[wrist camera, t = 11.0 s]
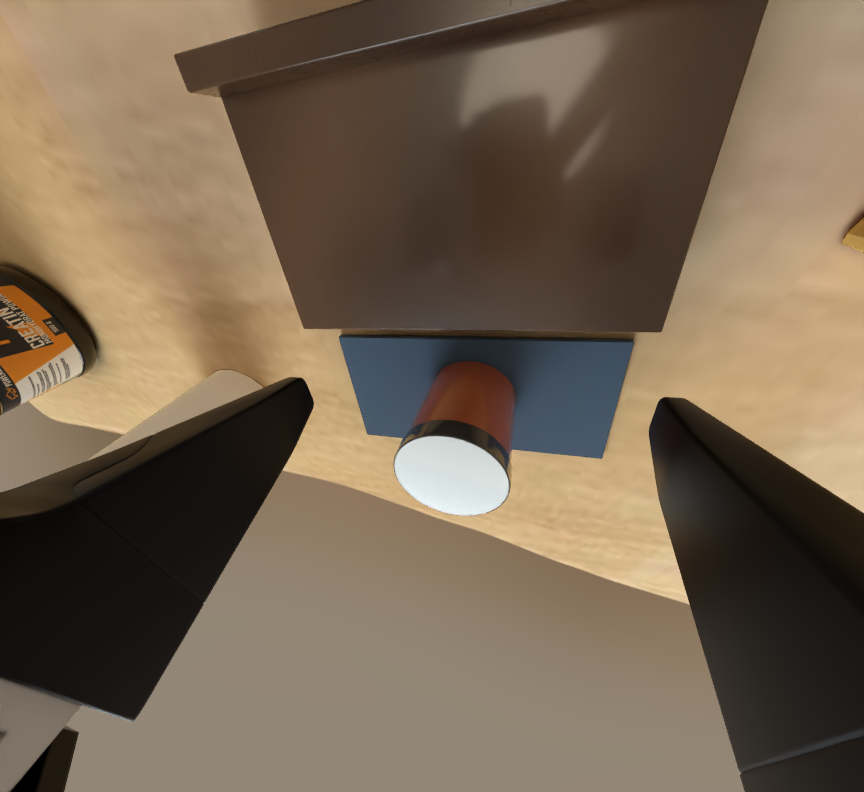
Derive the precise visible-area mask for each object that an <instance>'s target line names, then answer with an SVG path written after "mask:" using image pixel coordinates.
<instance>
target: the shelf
mask: <svg viewBox="0 0 864 792" xmlns="http://www.w3.org/2000/svg"><path fill="white" fill-rule="evenodd" d="M767 3H768V0H363V1H360V2H356V3H353V4H349V5H346V6H342V7H339V8H335V9H332V10H328V11H325V12H321V13H318V14H314V15H311V16H307V17H304V18H300V19H297V20H293V21H290V22H286V23H283V24H279V25H276V26H272V27H269V28H265V29H262V30H258V31H255V32H251V33H248V34H244V35H241V36H237V37H234V38H230V39H227V40H223V41H220V42H216V43H213V44H209V45H206V46H202V47H199V48H195V49H192V50H188V51H185V52H181V53H178V54H175V55H174V57H175V60H176V62H177V65H178V67H179V70H180V72H181V75H182V78H183V80H184V83H185V85H186V88H187V90H188V91H189V92H191V93H196V94H202V95H209V96H215V97H221V98H222V101H223V104H224V106H225V109H226V112H227V115H228V118H229V120H230V123H231V126H232V129H233V132H234V134H235V137H236V140H237V143H238V146H239V148H240V151H241V154H242V157H243V160H244V162H245V165H246V168H247V171H248V173H249V176H250V179H251V182H252V185H253V187H254V190H255V193H256V196H257V199H258V201H259V204H260V207H261V210H262V213H263V215H264V218H265V221H266V224H267V227H268V229H269V232H270V235H271V238H272V241H273V243H274V246H275V249H276V252H277V255H278V257H279V260H280V263H281V266H282V269H283V271H284V274H285V277H286V280H287V283H288V285H289V288H290V291H291V294H292V297H293V299H294V302H295V305H296V308H297V311H298V313H299V316H300V319H301V322H302V324H303V327H304V329H379V330H481V331H583V332H661V331H662V329H663V326H664V323H665V320H666V317H667V314H668V311H669V308H670V304H671V301H672V298H673V295H674V292H675V289H676V286H677V283H678V280H679V276H680V273H681V270H682V267H683V264H684V261H685V258H686V255H687V252H688V249H689V245H690V242H691V239H692V236H693V233H694V230H695V227H696V224H697V221H698V217H699V214H700V211H701V208H702V205H703V202H704V199H705V196H706V193H707V190H708V186H709V183H710V180H711V177H712V174H713V171H714V168H715V165H716V162H717V158H718V155H719V152H720V149H721V146H722V143H723V140H724V137H725V134H726V131H727V127H728V124H729V121H730V118H731V115H732V112H733V109H734V106H735V103H736V99H737V96H738V93H739V90H740V87H741V84H742V81H743V78H744V75H745V72H746V68H747V65H748V62H749V59H750V56H751V53H752V50H753V47H754V44H755V40H756V37H757V34H758V31H759V28H760V25H761V22H762V19H763V16H764V13H765V9H766V6H767Z"/></svg>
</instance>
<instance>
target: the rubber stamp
mask: <svg viewBox="0 0 864 792" xmlns="http://www.w3.org/2000/svg"><path fill="white" fill-rule="evenodd" d="M842 244H844V245H847V246H849V247H851V248H854V249H856V250H859V251H861V252H864V218H863V219H862V220H861V221H860V222H859V223H857V224H856V225H855V226H854V227H853V228H852V229H851V230H850V231H849V232H848V233H847V235H846V237H845V238H844V240H843V242H842Z"/></svg>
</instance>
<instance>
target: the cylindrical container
mask: <svg viewBox="0 0 864 792" xmlns="http://www.w3.org/2000/svg"><path fill="white" fill-rule="evenodd" d="M262 388H263V387H262V386H261V385H260V384H258V383H257V382H256V381H254V380H253V379H251V378H250V377H248V376H246V375H244V374H242V373H239V372H236V371H232V370H219V371H217V372H214V373H213V374H212V375H210V376H209V377H207V378H206V379H204V380H203V381H201V382H200V383H198V384H197V385H196V386H194V387H193V388H191V389H190V390H188V391H187V392H185V393H184V394H183V395H181V396H180V397H178V398H177V399H175V400H174V401H172V402H171V403H170V404H168V405H167V406H165V407H164V408H162V409H161V410H159V411H158V412H157V413H155V414H154V415H152V416H151V417H149V418H148V419H146V420H145V421H143V422H142V423H141V424H139V425H138V426H136V427H135V428H133V429H132V430H130V431H129V432H127V433H126V434H125V435H123V436H122V437H120V438H119V439H117V440H116V441H114V442H113V443H112V444H110V445H109V446H107V447H106V448H104V449H103V450H101V451H100V452H98V453H97V454H96V455H94V456H93V457H91V458H90V459H88V460H91V459H93V458H96V457H98V456H101V455H104V454H106V453H109V452H111V451H114V450H116V449H119V448H121V447H123V446H126V445H128V444H131V443H133V442H136V441H138V440H140V439H143V438H145V437H148V436H150V435H155V433H157V432H160V431H162V430H164V429H167V428H169V427H172V426H174V425H176V424H179V423H181V422H183V421H186V420H188V419H191V418H193V417H195V416H198V415H200V414H202V413H205V412H207V411H210V410H212V409H214V408H217V407H219V406H221V405H224V404H226V403H229V402H231V401H233V400H236V399H238V398H241V397H243V396H245V395H248V394H250V393H252V392H255V391H257V390H260V389H262ZM88 460H87V461H88ZM85 462H86V461H85Z"/></svg>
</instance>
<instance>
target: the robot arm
mask: <svg viewBox="0 0 864 792" xmlns="http://www.w3.org/2000/svg"><path fill="white" fill-rule="evenodd" d="M313 406H314V402H313V398H312V396H311V394H310V391H309V389H308V386H307V384H306V382H305V381H304V379H302V378H296V377H289V378H286V379H283V380H281V381H279V382H276V383H274V384H271V385H269V386H267V387H264V388H262V389H260V390H257V391H255V392H252V393H250V394H248V395H245V396H243V397H241V398H238V399H236V400H233V401H231V402H229V403H226V404H224V405H221V406H219V407H217V408H214V409H212V410H210V411H207V412H205V413H202V414H200V415H198V416H195V417H193V418H191V419H188V420H186V421H183V422H181V423H179V424H176V425H174V426H172V427H169V428H167V429H164V430H162V431H160V432H157V433H155V435H150V436H148V437H145V438H143V439H140V440H138V441H136V442H133V443H131V444H128V445H126V446H123V447H121V448H119V449H116V450H114V451H111V452H109V453H106V454H104V455H101V456H98V457H96V458H93V459H91V460H88V461H86V462H83V463H81V464H78V465H75V466H72V467H70V468H67V469H65V470H62V471H59V472H57V473H54V474H51V475H49V476H46V477H44V478H41V479H38V480H36V481H33V482H30V483H28V484H25V485H23V486H20V487H17V488H14V489H11V490H8V491H4V492H1V493H0V792H64V790H65V785H66V782H67V778H68V773H69V770H70V766H71V762H72V758H73V754H74V749H75V745H76V741H77V737H78V733H79V732H77V731H75V730H73V729H71V728H69V727H67V726H66V724H67V723H68V722H69V720H70V719H71V718H72V717H73V716H74V714H75V713H76V712H77V711H78V709H79V708H80V707H81V706H82V705H83V706H86V707H89V708H92V709H95V710H98V711H101V712H104V713H107V714H110V715H113V716H116V717H119V718H122V719H125V720H128V721H131V722H133V721H134V720H135V719H136V718H137V716H138V715H139V713H140V711H141V710H142V709H143V707H144V705H145V704H146V702H147V700H148V699H149V697H150V695H151V694H152V692H153V690H154V688H155V686H156V685H157V683H158V681H159V680H160V678H161V676H162V675H163V673H164V671H165V669H166V668H167V666H168V665H169V663H170V661H171V659H172V658H173V656H174V654H175V652H176V651H177V649H178V647H179V646H180V644H181V642H182V641H183V639H184V637H185V635H186V634H187V632H188V630H189V629H190V627H191V625H192V623H193V622H194V620H195V618H196V617H197V615H198V613H199V612H200V610H201V608H202V606H203V603H204V602H205V601H206V599H207V597H208V595H209V594H210V592H211V591H212V589H213V587H214V585H215V584H216V582H217V580H218V578H219V577H220V575H221V574H222V572H223V570H224V568H225V567H226V565H227V563H228V562H229V560H230V558H231V556H232V555H233V553H234V551H235V550H236V548H237V546H238V545H239V543H240V541H241V539H242V538H243V536H244V534H245V533H246V531H247V529H248V528H249V526H250V524H251V522H252V521H253V519H254V517H255V516H256V514H257V512H258V510H259V509H260V507H261V505H262V504H263V502H264V500H265V499H266V497H267V495H268V493H269V492H270V490H271V488H272V487H273V485H274V483H275V481H276V480H277V478H278V476H279V474H280V473H281V471H282V470H283V468H284V466H285V464H286V463H287V461H288V459H289V458H290V456H291V454H292V452H293V450H294V448H295V446H296V444H297V442H298V440H299V438H300V436H301V433H302V431H303V429H304V427H305V425H306V422H307V420H308V418H309V416H310V414H311V412H312V409H313ZM649 439H650V446H651V452H652V459H653V465H654V472H655V479H656V485H657V491H658V496H659V501H660V505H661V508H662V512H663V515H664V519H665V522H666V525H667V529H668V532H669V536H670V539H671V542H672V546H673V549H674V552H675V556H676V559H677V563H678V566H679V569H680V573H681V576H682V580H683V583H684V586H685V590H686V593H687V596H688V600H689V603H690V606H691V610H692V613H693V617H694V620H695V623H696V627H697V630H698V634H699V637H700V640H701V644H702V647H703V651H704V654H705V657H706V661H707V664H708V668H709V671H710V674H711V678H712V681H713V685H714V688H715V691H716V695H717V698H718V701H719V705H720V708H721V712H722V715H723V718H724V721H725V725H726V729H727V732H728V735H729V739H730V742H731V745H732V749H733V752H734V755H735V759H736V762H737V765H738V769H739V771H740V772H741V775H740V777H741V780H742V784H743V787H744V791H745V792H864V513H863V512H861V511H860V510H858V509H856V508H855V507H853V506H852V505H850V504H849V503H847V502H845V501H844V500H842V499H841V498H839V497H838V496H836V495H835V494H833V493H831V492H830V491H828V490H827V489H825V488H824V487H822V486H821V485H819V484H817V483H816V482H814V481H813V480H811V479H810V478H808V477H807V476H805V475H803V474H802V473H800V472H799V471H797V470H796V469H794V468H793V467H791V466H789V465H788V464H786V463H785V462H783V461H782V460H780V459H779V458H777V457H775V456H774V455H772V454H771V453H769V452H768V451H766V450H765V449H763V448H761V447H760V446H758V445H757V444H755V443H754V442H752V441H751V440H749V439H747V438H746V437H744V436H743V435H741V434H740V433H738V432H736V431H735V430H733V429H732V428H730V427H729V426H727V425H726V424H724V423H722V422H721V421H719V420H718V419H716V418H715V417H713V416H712V415H710V414H708V413H707V412H705V411H704V410H702V409H701V408H699V407H698V406H696V405H694V404H693V403H691V402H690V401H688V400H686V399H684V398H671V397H664V398H662V399H660V401H659V402H658V405H657V407H656V410H655V413H654V416H653V419H652V421H651V424H650V428H649Z"/></svg>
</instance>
